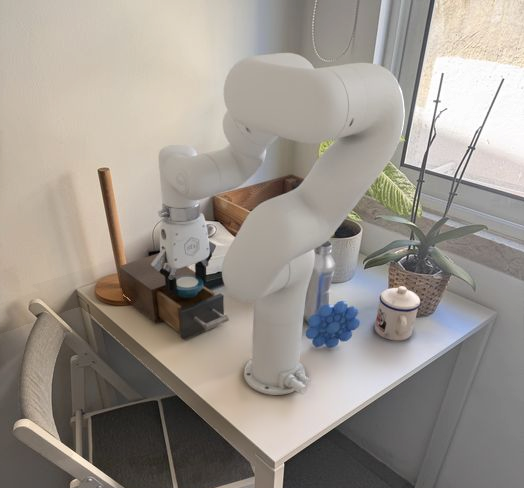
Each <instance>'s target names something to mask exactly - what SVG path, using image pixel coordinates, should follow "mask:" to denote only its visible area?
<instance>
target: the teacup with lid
mask: <svg viewBox="0 0 524 488" xmlns="http://www.w3.org/2000/svg"><path fill="white" fill-rule="evenodd" d="M420 306H421V300H420V297H419V296H418V294H416V293H415V292H413V291H412V290H409V289H408V288H407V287H406V286H403V285H400V286H398V287H391V288H387V289H384V290H383V291H382V292H381V293H380V295H379V303H378V307H377V314H376V319H375V324H374V330H375V332H376V333H377V334H378V335H379V336H380V337H382V338H384V339H386V340H390V341H395V342H397V341H398V342H399V341H405V340H407V339H409V338H410V337H411V336H412V334H413V330H414V326H415V322H416V318H417V314H418V311H419V308H420Z"/></svg>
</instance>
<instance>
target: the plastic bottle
mask: <svg viewBox="0 0 524 488" xmlns="http://www.w3.org/2000/svg"><path fill="white" fill-rule="evenodd" d="M332 248H333V243H332V242H331V241H329V240H328V241H327V242H325V243H324V244H323V245H321V246H319V247H317V248H315V249H314V253H315V261H314V267H313V271H312V275H311V278H310V281H309V285H308V288H307V294H306V299H305V307H304V316H303V320H304V321H306V322H307V323H308V320H309V318H310V317H311V316H312V315H315V314H318V315H319V309H320V308H321V307H322V306H323V305H326V304H330V291H331V286H332V281H333V279H334V278H333V277H334V274H335V270H336V263H335V260H334V258H333V257H332V255H331V254H332V252H333V251H332Z"/></svg>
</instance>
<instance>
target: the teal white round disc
mask: <svg viewBox="0 0 524 488" xmlns="http://www.w3.org/2000/svg"><path fill="white" fill-rule="evenodd" d="M176 282H177V294H178V295H179V296H181V297H184V298H190V297H194V296H196V295H197V294H198V292H199V291H201V290H202V289H203V286H204V284H203V280H202V279H201V278H200V277H198V276H194V275H182V276H178V277H176Z"/></svg>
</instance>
